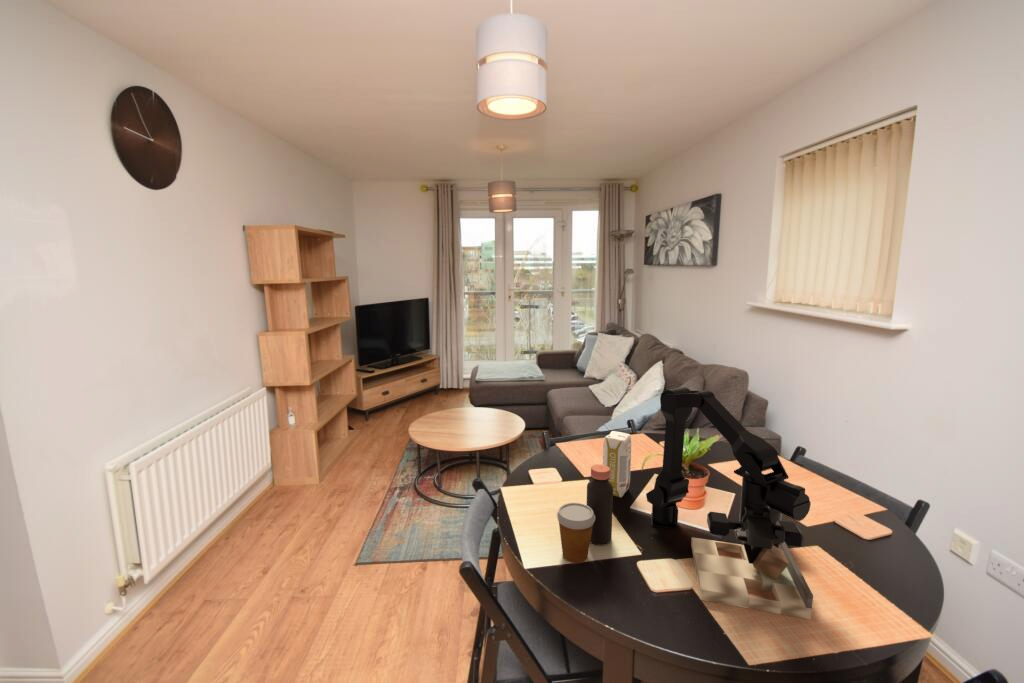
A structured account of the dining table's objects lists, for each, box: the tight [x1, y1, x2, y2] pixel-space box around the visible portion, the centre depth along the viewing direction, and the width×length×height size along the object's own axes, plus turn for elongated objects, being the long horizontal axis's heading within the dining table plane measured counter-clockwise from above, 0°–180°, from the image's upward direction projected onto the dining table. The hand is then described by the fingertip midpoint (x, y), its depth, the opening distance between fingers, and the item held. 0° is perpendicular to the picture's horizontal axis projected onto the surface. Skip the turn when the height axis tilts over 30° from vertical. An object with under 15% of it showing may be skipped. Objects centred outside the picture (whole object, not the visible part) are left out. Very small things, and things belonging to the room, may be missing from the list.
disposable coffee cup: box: [556, 502, 595, 564], centre depth 113 cm, size 10×10×12 cm
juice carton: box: [602, 430, 632, 498], centre depth 145 cm, size 8×9×19 cm
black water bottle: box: [586, 463, 614, 546], centre depth 119 cm, size 7×7×20 cm
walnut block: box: [753, 544, 789, 581], centre depth 103 cm, size 5×5×5 cm
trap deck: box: [690, 537, 814, 620], centre depth 104 cm, size 21×20×6 cm
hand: (750, 562), depth 104 cm, fingers closed
